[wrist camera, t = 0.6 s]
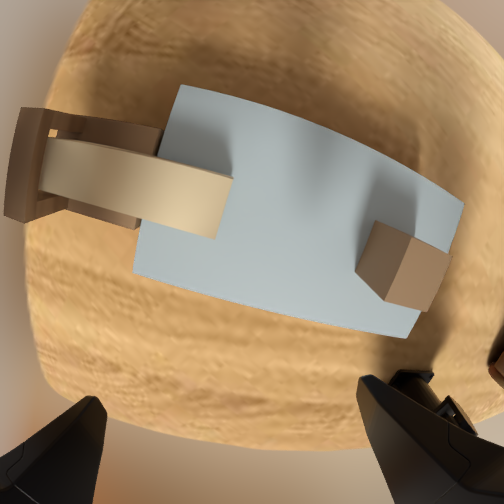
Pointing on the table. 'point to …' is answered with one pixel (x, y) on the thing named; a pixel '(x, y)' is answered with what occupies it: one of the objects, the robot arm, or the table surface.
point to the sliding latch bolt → (136, 184)
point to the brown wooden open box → (70, 127)
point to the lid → (302, 220)
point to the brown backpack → (498, 370)
